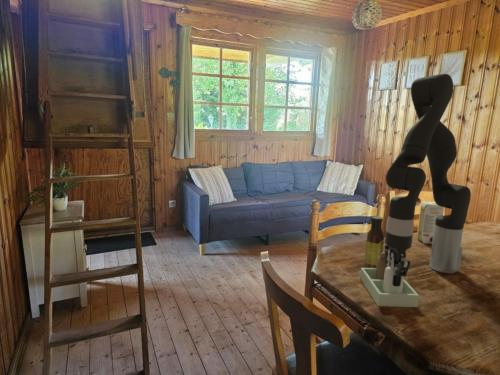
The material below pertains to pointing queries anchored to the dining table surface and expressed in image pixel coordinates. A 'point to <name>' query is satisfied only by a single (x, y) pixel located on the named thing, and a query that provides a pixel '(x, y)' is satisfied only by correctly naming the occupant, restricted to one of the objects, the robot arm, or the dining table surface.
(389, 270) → the eye dropper bottle
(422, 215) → the juice carton
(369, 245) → the sauce bottle
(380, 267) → the caddy
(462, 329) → the dining table surface
